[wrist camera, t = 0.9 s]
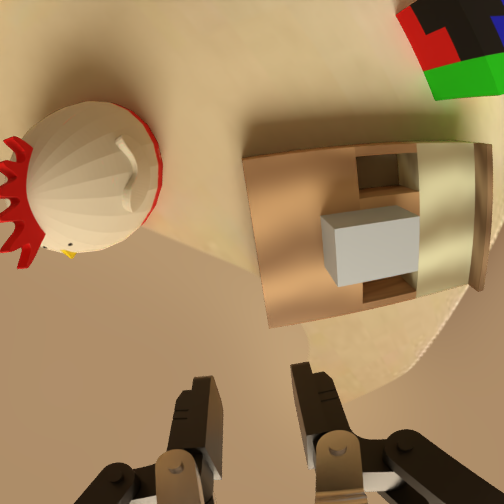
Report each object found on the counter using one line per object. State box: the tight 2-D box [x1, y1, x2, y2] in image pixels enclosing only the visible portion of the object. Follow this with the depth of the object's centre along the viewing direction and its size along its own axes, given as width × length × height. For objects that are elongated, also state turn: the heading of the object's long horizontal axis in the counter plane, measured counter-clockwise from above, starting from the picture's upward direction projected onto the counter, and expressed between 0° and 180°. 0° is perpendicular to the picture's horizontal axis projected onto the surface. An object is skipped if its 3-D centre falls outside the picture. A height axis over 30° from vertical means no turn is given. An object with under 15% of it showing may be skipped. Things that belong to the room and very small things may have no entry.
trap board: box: [242, 141, 493, 329], centre depth 27 cm, size 15×23×6 cm, turn 99°
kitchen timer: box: [0, 101, 163, 269], centre depth 20 cm, size 14×14×15 cm
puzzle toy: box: [396, 0, 504, 101], centre depth 19 cm, size 10×10×10 cm
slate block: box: [320, 205, 420, 287], centre depth 24 cm, size 4×7×4 cm, turn 99°
